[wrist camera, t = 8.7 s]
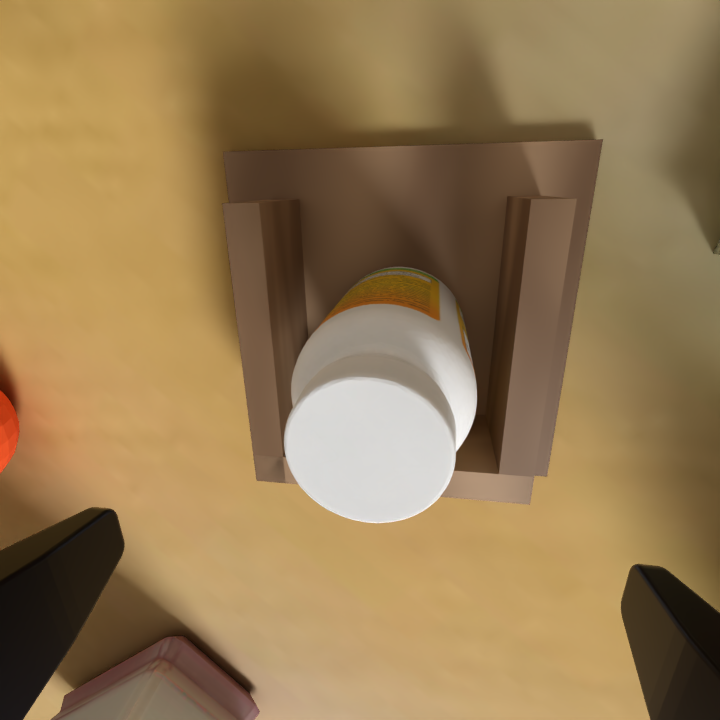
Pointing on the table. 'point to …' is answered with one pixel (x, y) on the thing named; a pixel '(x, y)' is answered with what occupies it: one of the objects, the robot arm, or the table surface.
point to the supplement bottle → (382, 398)
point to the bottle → (161, 689)
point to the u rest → (426, 253)
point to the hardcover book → (717, 249)
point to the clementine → (7, 430)
